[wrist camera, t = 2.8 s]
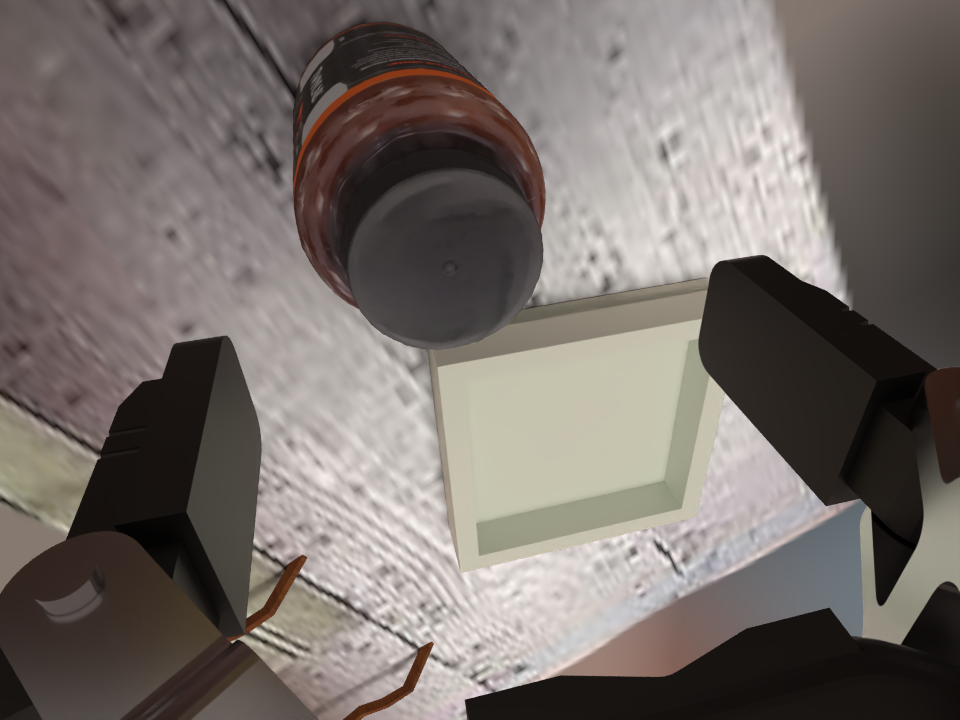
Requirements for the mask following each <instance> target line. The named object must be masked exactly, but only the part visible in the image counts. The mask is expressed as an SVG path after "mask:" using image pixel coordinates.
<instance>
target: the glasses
mask: <svg viewBox="0 0 960 720" xmlns="http://www.w3.org/2000/svg"><path fill="white" fill-rule="evenodd" d="M306 559H307V557H305V556H303V555H301V556H300V557H298V558H297V559H295V560H294V561H292V562H290V563H289V565H288V567H287V568H286V570H285V572H284V573H283V575H282V577H281V578H280V580H279V582H278V584H277V585H276V587H275V589H274V590H273V592H272V594H271V595H270V597H269V599H268V601H267V602H266V604H265V606H264V607H263V608H262V609H261V610H259V611H258V612H256V613H254V614H253V615H251V616H250V617H248V618H247V619H246V626H245V634H243V635H239V636H234V637H230V638H226V639H227V640H228V641H230V642H231V641H233V640H235V639H237V638H239V637H242V636H244V635H246V634H247V633H249V632H250V631H252V630H253V629H254V628H256V627H257V626H259V625H260V624H262V623H263V622H265V621H266V620H267V619H269V618H270V617H272V616H273V615H274V614H275V613H276V611H277V609H278V607H279V606H280V604H281V602H282V600H283V599H284V597H285V595H286V594H287V592H288V590H289V588H290V587H291V585H292V583H293V582H294V580H295V578H296V576H297V575H298V573H299V571H300V569H301V568H302V566H303V564H304V563H305V561H306ZM433 645H434V644H433V643H432V642H430V643H428V644H426V645H424V646H422V647H421V648H420V650H419V652H418V654H417V656H416V659H415V661H414V663H413V665H412V668H411V670H410V672H409V674H408V676H407V679H406V681H405V683H404V685H403V686H402V687H401V688H399V689H397V690H395V691H394V692H392V693H390V694H389V695H387V696H385V697H383V698H382V699H379V700H376V701H373V702H370V703H367V704H364V705H361V706H359V707H358V708H356V709H355V710H354V711H353V712H352V713H350V714H349V715H348V716H347V717H346V718H345V719H343V720H361V719H362V718H363V717H364V716H366V715H369V714H372V713H375V712H377V711H380V710H383V709H386V708H388V707H390V706H391V705H393V704H395V703H396V702H398V701H399V700H401V699H402V698H404V697H405V696H407V695H408V694H410V693H411V692H413V690H414V688H415V686H416V683H417V681H418V679H419V677H420V674H421V672H422V670H423V668H424V665H425V663H426V661H427V658H428V656H429V654H430V652H431V649H432V647H433Z"/></svg>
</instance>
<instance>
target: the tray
mask: <svg viewBox="0 0 960 720" xmlns="http://www.w3.org/2000/svg"><path fill="white" fill-rule="evenodd" d="M708 285H709V280H708V279H707V278H704V279H698V280H692V281H686V282H680V283H675V284H669V285H663V286H657V287H651V288H645V289H640V290H634V291H628V292H622V293H616V294H610V295H605V296H599V297H593V298H587V299H581V300H575V301H569V302H564V303H558V304H552V305H546V306H540V307H534V308H529V309H523V310H521V311H520V312H519V313H518V314H517V315H516V316H515V317H514V318H513V319H512V320H510V321H509V323H508V324H507V325H506V326H504V327H503V328H501V329H500V330H499V331H497V332H496V333H494V334H492V335H490V336H488V337H485V338H484V339H483V340H481V341H479V342H473V343H471V344H469V345H465V346H461V347H456V348H451V349H443V350H432V349H427V350H428V358H429V366H430V374H431V382H432V391H433V399H434V407H435V415H436V423H437V432H438V440H439V448H440V456H441V464H442V472H443V481H444V489H445V497H446V505H447V513H448V522H449V528H450V532H451V536H452V540H453V544H454V548H455V552H456V556H457V560H458V564H459V568H460V572H461V573H463V572H467V571H471V570H475V569H479V568H484V567H488V566H492V565H496V564H500V563H505V562H509V561H513V560H517V559H522V558H526V557H530V556H534V555H538V554H543V553H547V552H551V551H555V550H559V549H564V548H568V547H572V546H576V545H580V544H585V543H589V542H593V541H597V540H601V539H606V538H610V537H614V536H618V535H622V534H627V533H631V532H635V531H639V530H644V529H648V528H652V527H656V526H660V525H665V524H669V523H673V522H677V521H681V520H686V519H690V518H694V517H696V516H697V511H698V507H699V503H700V498H701V494H702V490H703V486H704V481H705V477H706V473H707V469H708V464H709V460H710V456H711V451H712V447H713V443H714V439H715V434H716V430H717V426H718V421H719V417H720V413H721V409H722V404H723V400H724V396H725V392H724V391H723V390H722V389H721V387H720V386H719V385H718V384H717V383H716V382H715V381H714V380H713V378H712V377H711V376H710V375H709V374H708V373H707V371H706V370H705V368H704V366H703V364H702V362H701V359H700V355H699V349H698V339H699V333H700V327H701V322H702V317H703V311H704V306H705V301H706V295H707V290H708Z"/></svg>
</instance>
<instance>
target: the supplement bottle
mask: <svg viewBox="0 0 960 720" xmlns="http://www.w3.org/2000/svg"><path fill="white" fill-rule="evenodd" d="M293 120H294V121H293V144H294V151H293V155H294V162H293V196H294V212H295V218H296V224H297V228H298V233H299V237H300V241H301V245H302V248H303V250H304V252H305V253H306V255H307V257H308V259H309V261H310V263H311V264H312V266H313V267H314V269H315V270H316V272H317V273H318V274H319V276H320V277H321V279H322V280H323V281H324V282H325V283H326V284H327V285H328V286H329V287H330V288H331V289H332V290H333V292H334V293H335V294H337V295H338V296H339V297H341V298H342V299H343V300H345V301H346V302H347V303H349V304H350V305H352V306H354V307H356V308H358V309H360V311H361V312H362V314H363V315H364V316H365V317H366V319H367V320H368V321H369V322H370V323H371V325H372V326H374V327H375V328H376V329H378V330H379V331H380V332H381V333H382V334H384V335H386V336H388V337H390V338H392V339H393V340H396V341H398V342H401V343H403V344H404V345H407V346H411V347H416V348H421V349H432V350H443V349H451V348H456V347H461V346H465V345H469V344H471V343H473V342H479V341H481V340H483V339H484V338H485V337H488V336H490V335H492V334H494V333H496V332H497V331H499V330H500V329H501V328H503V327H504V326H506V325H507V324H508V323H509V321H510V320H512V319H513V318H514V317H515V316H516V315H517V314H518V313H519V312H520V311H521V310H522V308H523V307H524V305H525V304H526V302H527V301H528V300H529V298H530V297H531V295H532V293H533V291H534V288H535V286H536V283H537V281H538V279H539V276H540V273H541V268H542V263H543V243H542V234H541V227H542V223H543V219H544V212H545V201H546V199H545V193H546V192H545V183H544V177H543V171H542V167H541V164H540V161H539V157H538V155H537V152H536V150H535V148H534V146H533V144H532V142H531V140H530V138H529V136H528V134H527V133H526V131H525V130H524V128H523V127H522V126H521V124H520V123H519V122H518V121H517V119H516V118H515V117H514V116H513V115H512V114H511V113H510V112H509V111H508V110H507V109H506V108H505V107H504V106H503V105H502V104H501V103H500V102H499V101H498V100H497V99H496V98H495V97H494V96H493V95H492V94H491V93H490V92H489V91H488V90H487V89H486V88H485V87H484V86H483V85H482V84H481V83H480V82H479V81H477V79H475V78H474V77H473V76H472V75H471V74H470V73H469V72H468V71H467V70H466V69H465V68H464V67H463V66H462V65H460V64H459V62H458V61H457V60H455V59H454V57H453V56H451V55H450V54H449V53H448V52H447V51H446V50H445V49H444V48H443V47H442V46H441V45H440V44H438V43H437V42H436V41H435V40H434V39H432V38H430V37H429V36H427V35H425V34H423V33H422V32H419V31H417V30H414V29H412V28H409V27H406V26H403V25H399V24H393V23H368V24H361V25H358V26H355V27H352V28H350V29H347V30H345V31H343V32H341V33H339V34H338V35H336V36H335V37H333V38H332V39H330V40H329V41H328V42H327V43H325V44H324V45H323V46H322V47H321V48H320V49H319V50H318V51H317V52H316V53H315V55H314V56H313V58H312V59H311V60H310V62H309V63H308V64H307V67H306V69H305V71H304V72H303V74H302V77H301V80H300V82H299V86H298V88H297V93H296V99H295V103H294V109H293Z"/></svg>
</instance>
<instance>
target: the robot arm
mask: <svg viewBox="0 0 960 720" xmlns="http://www.w3.org/2000/svg"><path fill="white" fill-rule="evenodd" d="M698 349H699V355H700V359H701V362H702V364H703V366H704V368H705V370H706V371H707V373H708V374H709V375H710V376H711V377H712V378H713V380H714V381H715V382H716V383H717V384H718V385H719V386H720V387H721V389H722V390H723V391H724V392H725V393H726V394H727V395H728V396H729V398H730V399H731V400H732V401H733V402H734V403H735V404H736V405H737V407H738V408H739V409H740V410H741V411H742V412H743V413H744V414H745V416H746V417H747V418H748V419H749V420H750V421H751V422H752V424H753V425H754V426H755V427H756V428H757V429H758V430H759V431H760V433H761V434H762V435H763V436H764V437H765V438H766V439H767V440H768V442H769V443H770V444H771V445H772V446H773V447H774V448H775V449H776V451H777V452H778V453H779V454H780V455H781V456H782V457H783V458H784V460H785V461H786V462H787V463H788V464H789V465H790V466H791V467H792V469H793V470H794V471H795V472H796V473H797V474H798V475H799V476H800V478H801V479H802V480H803V481H804V482H805V483H806V484H807V485H808V487H809V488H810V489H811V490H812V491H813V492H814V493H815V494H816V496H817V497H818V498H819V499H820V500H821V501H822V502H823V503H824V505H825V506H829V505H834V504H838V503H843V502H847V501H851V500H856V499H861V500H862V501H863V502H864V503H865V504H866V505H867V506H866V509H865V511H864V513H863V515H862V517H861V521H860V538H861V562H862V563H861V564H862V589H863V615H864V623H863V633H862V637H856V636H851V635H850V634H849V633H848V631H847V630H846V629H845V628H844V626H843V625H842V624H841V622H840V621H839V620H838V618H837V617H836V616H835V614H834V613H833V612H832V610H831V609H830V608H826V609H822V610H818V611H814V612H811V613H807V614H803V615H799V616H795V617H791V618H787V619H783V620H779V621H775V622H771V623H767V624H763V625H759V626H755V627H751V628H747V629H745V630H743V631H742V632H740V633H738V634H737V635H735V636H734V637H732V638H730V639H729V640H727V641H726V642H724V643H722V644H721V645H719V646H718V647H716V648H714V649H713V650H711V651H710V652H708V653H706V654H705V655H703V656H702V657H700V658H698V659H697V660H695V661H693V662H692V663H690V664H689V665H687V666H686V667H684V668H682V669H681V670H679V671H677V672H675V673H673V674H671V675H669V676H665V677H621V676H617V677H616V676H557V677H553V678H549V679H545V680H541V681H537V682H533V683H529V684H525V685H522V686H518V687H514V688H510V689H506V690H502V691H498V692H494V693H490V694H486V695H482V696H478V697H474V698H470V699H466V700H465V705H466V713H467V720H960V367H948V368H941V369H939V370H937V369H936V368H934V367H933V366H932V365H930V364H929V363H928V362H926V361H925V360H923V359H922V358H921V357H919V356H918V355H916V354H915V353H913V352H912V351H911V350H909V349H908V348H906V347H905V346H903V345H902V344H901V343H899V342H898V341H897V340H895V339H894V338H892V337H891V336H889V335H888V334H886V333H885V332H884V331H882V330H881V329H879V328H878V327H877V326H875V325H874V324H870V325H869V324H868V320H867V319H865V318H864V317H863V316H861V315H860V314H858V313H857V312H856V311H854V310H852V311H850V310H849V306H847V305H846V304H844V303H843V302H841V301H840V300H839V299H837V298H836V297H834V296H833V295H832V294H830V293H829V292H827V291H826V290H823V289H821V288H818V287H816V286H813V285H811V284H808V283H806V282H803V281H801V280H800V279H798V278H797V277H795V276H794V275H793V274H791V273H790V272H789V271H787V270H786V269H784V268H783V267H782V266H780V265H779V264H778V263H776V262H775V261H773V260H772V259H771V258H769V257H767V256H765V255H757V256H750V257H744V258H737V259H731V260H724V261H720V262H718V263H717V264H716V265H715V266H714V268H713V269H712V272H711V275H710V279H709V285H708V290H707V295H706V301H705V306H704V311H703V317H702V322H701V327H700V333H699V339H698ZM261 450H262V449H261V434H260V427H259V422H258V418H257V414H256V411H255V408H254V405H253V402H252V399H251V396H250V393H249V390H248V387H247V384H246V381H245V378H244V375H243V372H242V369H241V366H240V363H239V360H238V357H237V354H236V351H235V348H234V346H233V344H232V342H231V340H230V338H229V337H228V336H220V337H213V338H207V339H200V340H194V341H187V342H181V343H176V344H174V345H173V347H172V349H171V353H170V356H169V359H168V362H167V365H166V368H165V371H164V374H163V377H162V379H157V380H151V381H144V382H142V383H141V384H140V385H139V386H138V387H137V388H136V389H135V390H134V391H133V392H132V393H131V394H130V395H129V396H128V397H127V398H126V399H125V400H124V401H123V403H122V404H121V405H120V406H119V407H118V410H117V412H116V415H115V417H114V420H113V422H112V425H111V427H110V430H109V437H106V440H105V443H104V445H103V448H102V450H101V453H100V455H101V459H98V460H97V463H96V465H95V468H94V470H93V473H92V475H91V478H90V480H89V483H88V485H87V488H86V490H85V493H84V496H83V498H82V501H81V503H80V506H79V508H78V511H77V513H76V516H75V518H74V521H73V523H72V526H71V528H70V531H69V533H68V536H67V538H66V541H64V542H61V543H59V544H57V545H55V546H53V547H51V548H50V549H48V550H46V551H44V552H43V553H41V554H40V555H38V556H37V557H35V558H34V559H32V560H31V561H30V562H29V563H28V564H26V565H25V566H24V567H23V568H22V569H21V570H20V571H19V572H18V573H17V574H16V575H15V576H14V577H13V578H12V579H11V580H10V581H9V582H8V584H7V585H6V586H5V587H4V589H3V591H2V592H1V594H0V720H318V719H317V717H316V716H315V715H314V714H313V713H312V712H311V711H310V710H309V709H308V708H307V707H306V706H305V705H304V704H303V703H302V702H301V700H300V699H299V698H298V697H297V696H296V695H295V694H294V693H293V692H292V691H291V690H290V689H289V688H288V687H287V686H286V685H285V684H284V682H283V681H282V680H281V679H280V678H279V677H278V676H277V675H276V674H275V673H274V672H273V671H272V670H271V669H270V668H269V667H268V666H267V664H266V663H265V662H264V661H263V660H262V659H261V658H260V657H259V656H258V655H257V654H256V653H255V652H254V651H253V650H252V649H251V648H250V647H249V646H247V645H246V644H245V643H244V642H242V641H240V640H237V641H235V642H234V643H233V644H232V643H231V642H230V641H228V640H227V639H226V638H230V637H234V636H239V635H243V634H245V626H246V616H247V605H248V594H249V583H250V572H251V561H252V550H253V539H254V528H255V517H256V506H257V495H258V484H259V474H260V463H261Z"/></svg>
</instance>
